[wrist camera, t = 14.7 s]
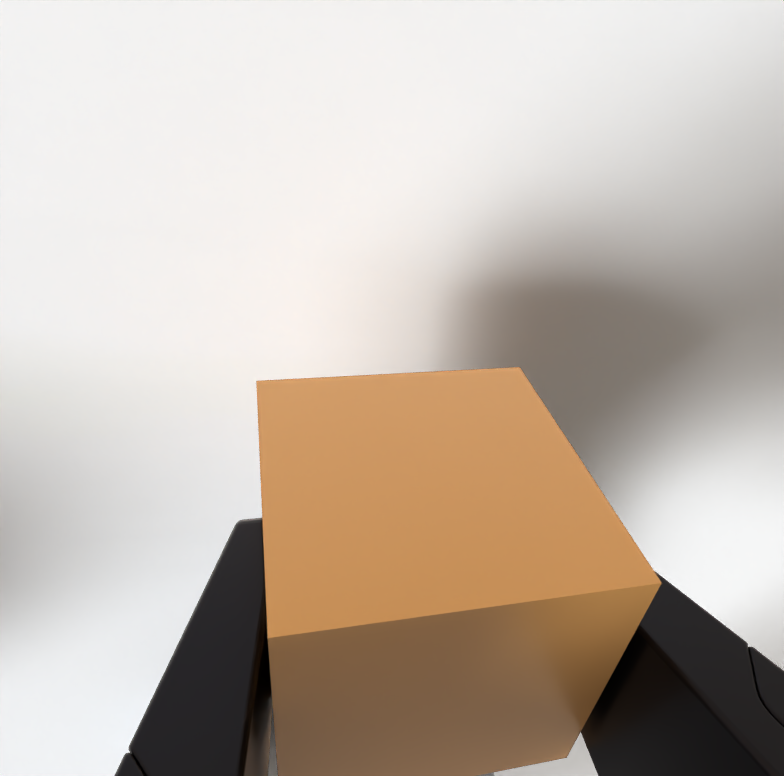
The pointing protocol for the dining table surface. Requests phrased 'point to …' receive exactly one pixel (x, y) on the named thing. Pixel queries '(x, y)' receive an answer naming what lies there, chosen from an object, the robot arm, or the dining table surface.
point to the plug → (435, 575)
